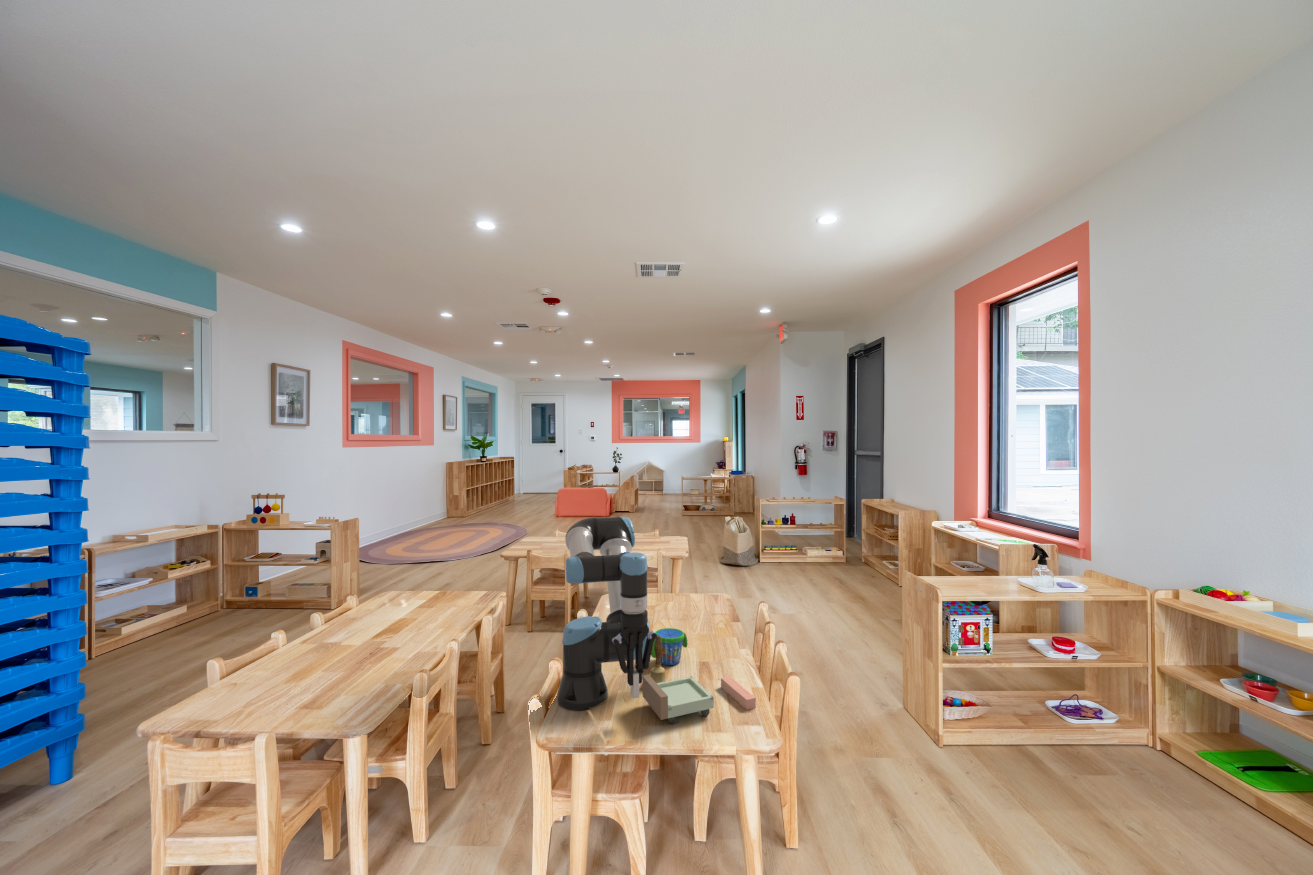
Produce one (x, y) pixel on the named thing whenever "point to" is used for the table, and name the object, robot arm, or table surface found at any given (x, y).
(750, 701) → the track
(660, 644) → the hand bell
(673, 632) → the snack cup
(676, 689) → the pale green tray
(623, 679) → the table surface
